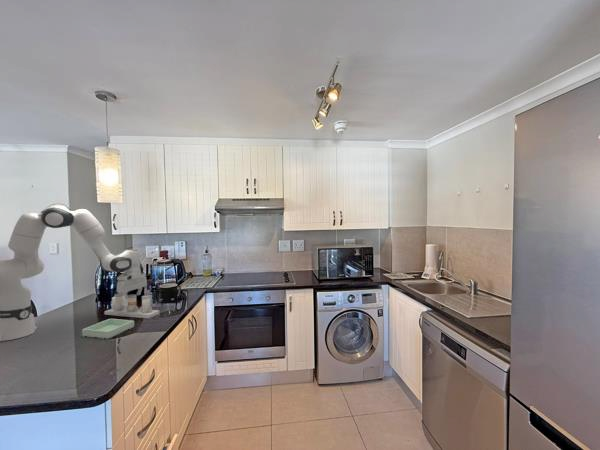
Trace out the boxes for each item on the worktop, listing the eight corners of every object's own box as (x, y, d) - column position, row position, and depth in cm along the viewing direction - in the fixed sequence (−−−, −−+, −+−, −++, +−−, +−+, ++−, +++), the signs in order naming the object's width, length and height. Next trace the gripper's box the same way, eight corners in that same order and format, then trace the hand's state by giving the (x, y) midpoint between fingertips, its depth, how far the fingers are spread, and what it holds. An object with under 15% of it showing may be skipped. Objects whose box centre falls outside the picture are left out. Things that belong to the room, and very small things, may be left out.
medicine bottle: (128, 306, 186) (128, 289, 186) (116, 309, 180) (116, 291, 180) (123, 305, 190) (123, 288, 190) (111, 307, 184) (111, 290, 183)
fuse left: (112, 310, 171) (112, 294, 171) (118, 308, 176) (118, 293, 176) (118, 311, 170) (118, 295, 170) (124, 308, 175) (124, 293, 175)
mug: (161, 298, 206) (161, 283, 206) (183, 298, 208) (183, 282, 208) (152, 305, 190) (152, 288, 190) (176, 304, 192) (176, 287, 192)
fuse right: (139, 312, 167) (140, 296, 167) (145, 310, 172) (145, 294, 172) (146, 313, 167) (146, 297, 166) (151, 311, 171) (151, 295, 171)
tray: (82, 336, 137) (82, 329, 137) (109, 324, 153) (109, 318, 153) (108, 339, 134) (108, 331, 134) (134, 326, 150) (134, 320, 150)
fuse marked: (126, 311, 169) (126, 295, 169) (132, 309, 174) (132, 294, 174) (132, 312, 168) (132, 296, 168) (138, 310, 173) (138, 294, 173)
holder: (104, 314, 170) (104, 306, 170) (116, 310, 179) (116, 302, 179) (149, 318, 164) (149, 310, 164) (159, 313, 173) (159, 305, 172)
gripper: (141, 271, 182) (141, 292, 182) (114, 277, 162) (114, 301, 162) (149, 272, 180) (149, 292, 180) (123, 278, 160) (123, 301, 160)
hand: (132, 296), depth 171 cm, fingers open, 8 cm apart
